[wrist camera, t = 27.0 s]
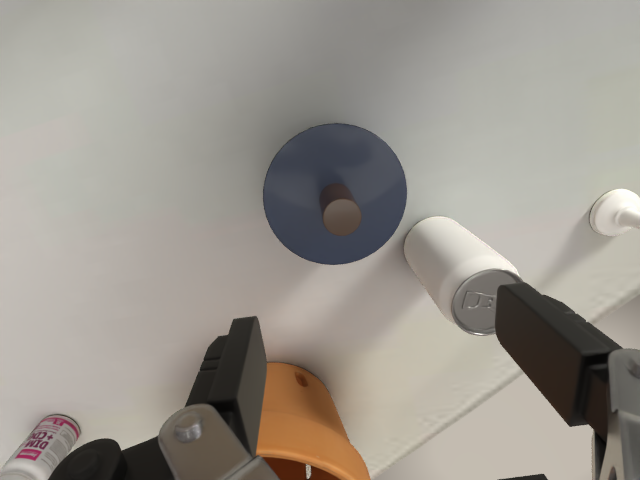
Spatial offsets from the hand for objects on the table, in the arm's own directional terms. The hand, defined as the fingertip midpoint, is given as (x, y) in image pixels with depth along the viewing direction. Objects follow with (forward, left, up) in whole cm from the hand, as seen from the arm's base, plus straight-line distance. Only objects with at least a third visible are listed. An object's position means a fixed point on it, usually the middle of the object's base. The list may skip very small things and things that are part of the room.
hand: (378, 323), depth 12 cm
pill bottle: (+26, -36, -24) cm, 51 cm away
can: (+8, +10, -24) cm, 28 cm away
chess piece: (+7, +29, -24) cm, 38 cm away
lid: (0, 0, -18) cm, 18 cm away
